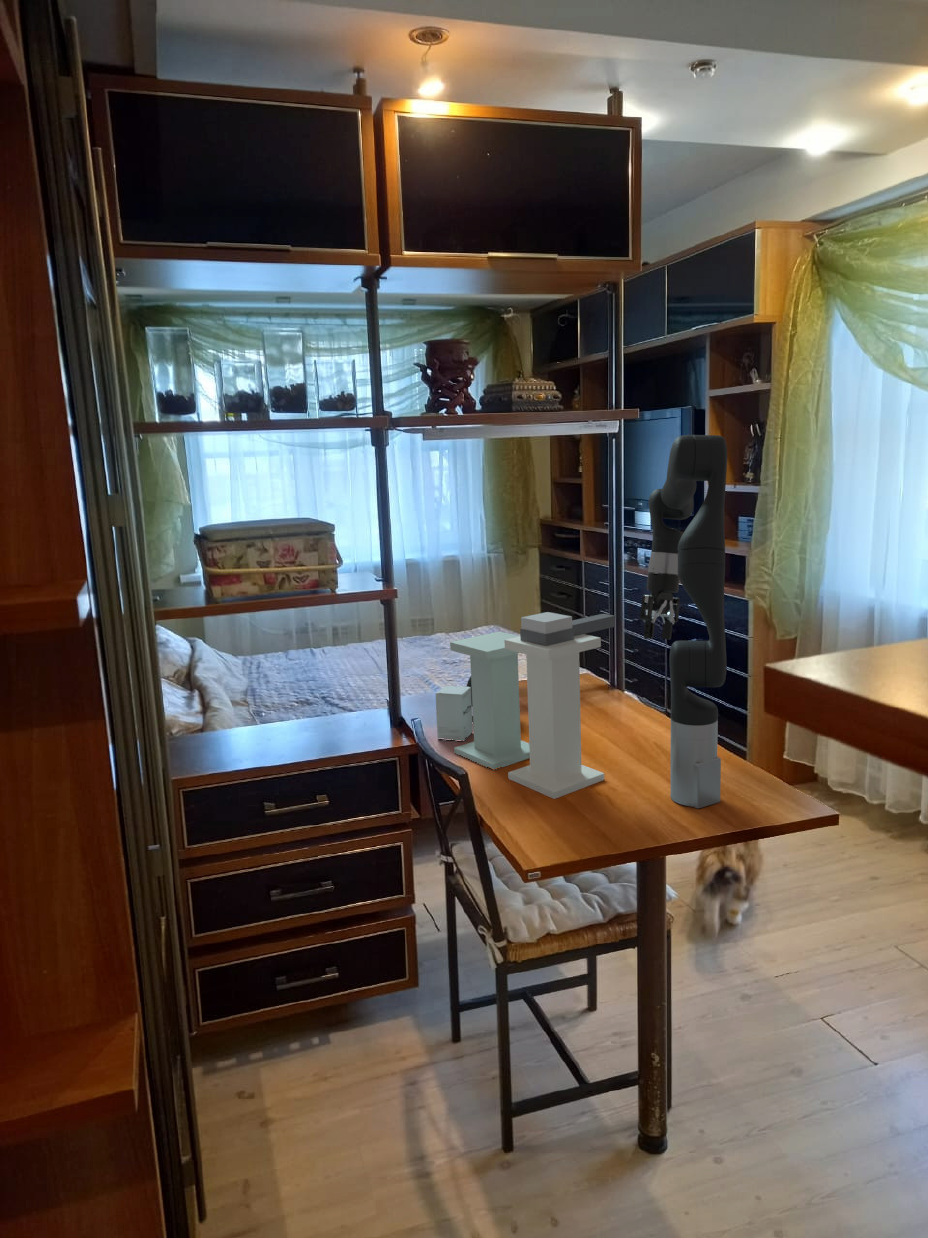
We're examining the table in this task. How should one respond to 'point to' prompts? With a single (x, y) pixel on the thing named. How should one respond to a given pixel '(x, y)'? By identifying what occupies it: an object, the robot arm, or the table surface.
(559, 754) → the tall pedestal
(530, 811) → the table surface
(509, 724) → the low pedestal
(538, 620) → the block
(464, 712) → the supplement box
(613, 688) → the table surface
